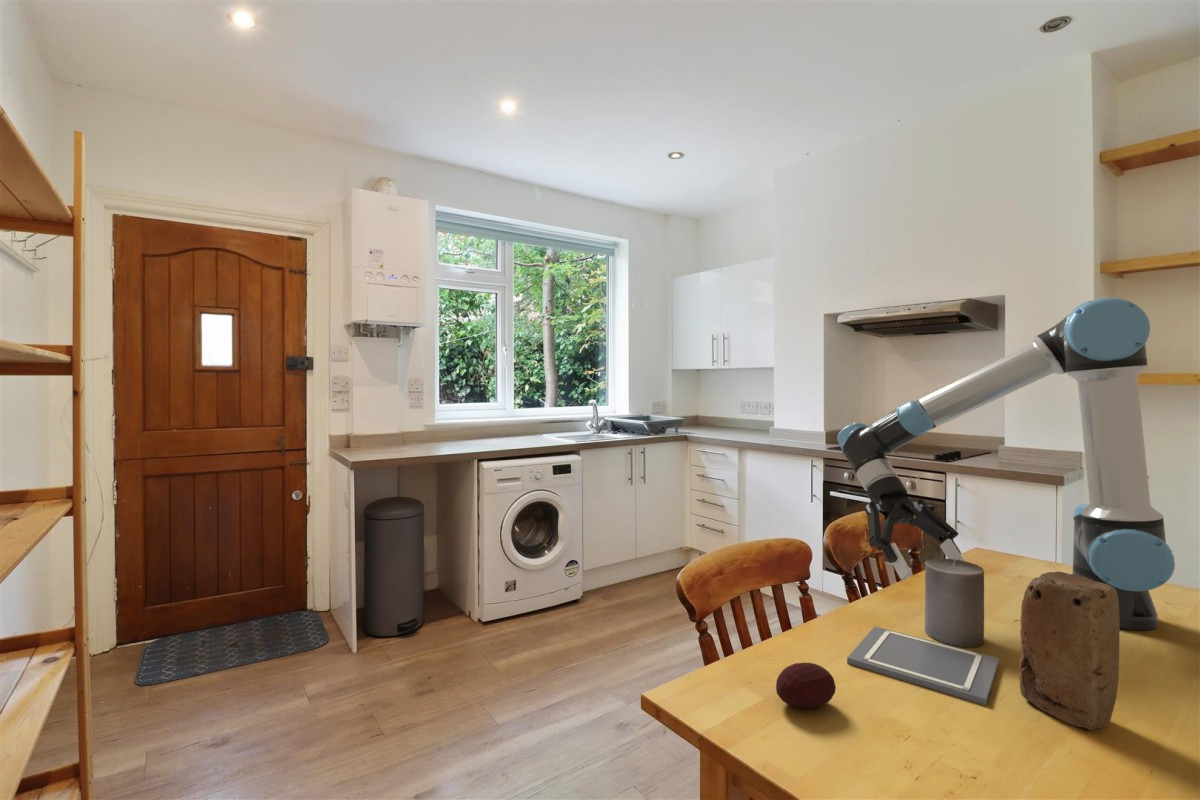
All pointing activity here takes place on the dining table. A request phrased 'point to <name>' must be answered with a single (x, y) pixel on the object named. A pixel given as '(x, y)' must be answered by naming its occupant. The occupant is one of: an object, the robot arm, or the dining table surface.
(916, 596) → the dining table surface
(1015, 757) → the dining table surface
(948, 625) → the pillar candle
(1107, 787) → the dining table surface
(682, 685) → the dining table surface
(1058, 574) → the block
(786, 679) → the potato
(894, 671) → the slate tile
